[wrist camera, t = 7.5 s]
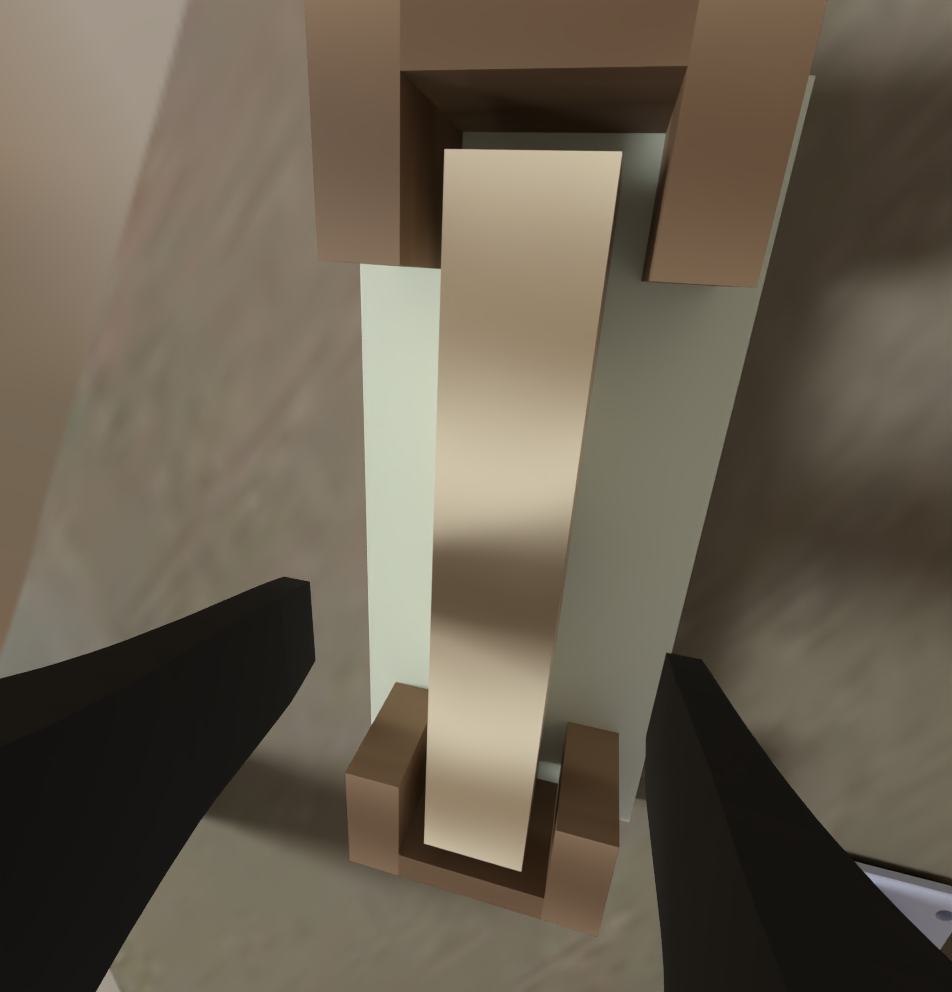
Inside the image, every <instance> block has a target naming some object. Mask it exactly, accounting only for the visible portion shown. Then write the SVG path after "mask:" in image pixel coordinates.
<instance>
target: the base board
mask: <svg viewBox="0 0 952 992" xmlns="http://www.w3.org/2000/svg"><path fill="white" fill-rule="evenodd" d="M815 76H816V75H813V76H809V78H808V82H807V86H806V90H805V94H804V98H803V102H802V106H801V110H800V115H799V119H798V123H797V127H796V131H795V135H794V139H793V143H792V147H791V151H790V155H789V159H788V163H787V167H786V171H785V176H784V180H783V184H782V188H781V192H780V196H779V200H778V204H777V208H776V212H775V216H774V220H773V224H772V228H771V233H770V237H769V241H768V245H767V249H766V253H765V257H764V261H763V265H762V269H761V273H760V277H759V281H758V285H757V288H755V287H726V286H706V285H690V284H674V283H657V282H641V280H642V274H643V268H644V262H645V256H646V250H647V244H648V238H649V232H650V226H651V220H652V214H653V208H654V202H655V196H656V190H657V184H658V178H659V172H660V166H661V160H662V154H663V148H664V142H665V136H666V133H539V132H463V139H462V149H480V150H552V151H623V152H622V177H621V194H620V201H619V208H618V215H617V222H616V229H615V236H614V243H613V250H612V257H611V264H610V271H609V278H608V285H607V292H606V299H605V306H604V313H603V320H602V327H601V334H600V341H599V348H598V355H597V361H596V368H595V375H594V382H593V389H592V396H591V403H590V410H589V417H588V424H587V431H586V438H585V445H584V452H583V459H582V466H581V473H580V480H579V487H578V494H577V501H576V508H575V515H574V522H573V529H572V536H571V543H570V550H569V557H568V564H567V571H566V578H565V585H564V592H563V599H562V606H561V613H560V620H559V627H558V634H557V641H556V648H555V655H554V662H553V669H552V676H551V683H550V690H549V697H548V704H547V711H546V718H545V725H544V732H543V739H542V746H541V753H540V760H539V766H538V772H537V779H541V780H545V781H549V782H553V783H557V784H558V780H559V774H560V768H561V762H562V756H563V750H564V744H565V738H566V732H567V726H568V722H572V723H577V724H581V725H585V726H590V727H594V728H598V729H603V730H607V731H611V732H616V733H619V820H622V821H626V822H629V821H630V817H631V813H632V809H633V805H634V801H635V797H636V793H637V789H638V785H639V781H640V777H641V773H642V769H643V765H644V761H645V757H646V734H647V730H648V726H649V721H650V717H651V713H652V709H653V705H654V701H655V697H656V693H657V689H658V684H659V680H660V676H661V672H662V668H663V664H664V660H665V656H666V653H672V649H673V645H674V641H675V637H676V633H677V629H678V625H679V621H680V617H681V613H682V609H683V605H684V601H685V597H686V593H687V589H688V585H689V581H690V577H691V573H692V569H693V565H694V561H695V557H696V553H697V549H698V545H699V541H700V537H701V533H702V529H703V525H704V521H705V517H706V513H707V509H708V505H709V501H710V497H711V493H712V489H713V485H714V481H715V477H716V473H717V469H718V465H719V461H720V457H721V453H722V449H723V445H724V441H725V437H726V433H727V429H728V425H729V421H730V417H731V413H732V409H733V405H734V401H735V397H736V393H737V389H738V385H739V381H740V377H741V373H742V369H743V365H744V361H745V357H746V353H747V349H748V345H749V341H750V337H751V333H752V329H753V325H754V321H755V317H756V313H757V309H758V305H759V301H760V297H761V293H762V289H763V285H764V281H765V277H766V273H767V269H768V264H769V260H770V256H771V252H772V248H773V244H774V240H775V236H776V232H777V228H778V224H779V220H780V216H781V212H782V208H783V204H784V200H785V196H786V192H787V188H788V184H789V180H790V176H791V172H792V168H793V164H794V160H795V156H796V152H797V148H798V144H799V140H800V136H801V132H802V128H803V124H804V120H805V116H806V112H807V108H808V104H809V100H810V96H811V92H812V88H813V84H814V80H815ZM360 274H361V315H362V356H363V396H364V437H365V478H366V519H367V560H368V601H369V642H370V682H371V723H372V724H373V722H374V720H375V718H376V716H377V715H378V713H379V711H380V709H381V707H382V706H383V704H384V702H385V700H386V698H387V697H388V695H389V693H390V691H391V689H392V688H393V686H394V684H395V682H398V683H403V684H407V685H411V686H416V687H420V688H424V689H429V659H430V625H431V591H432V557H433V523H434V489H435V455H436V421H437V387H438V353H439V319H440V285H441V269H432V268H416V267H400V266H385V265H372V264H360Z"/></svg>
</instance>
